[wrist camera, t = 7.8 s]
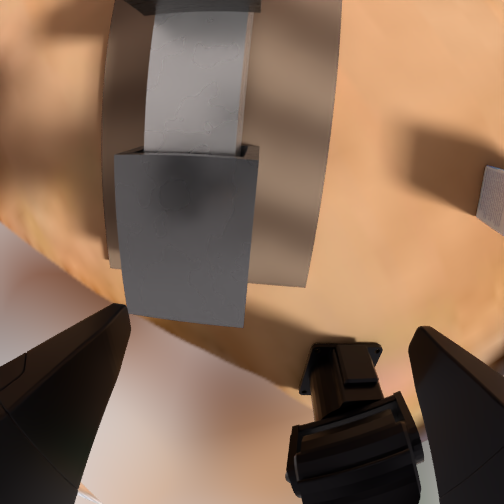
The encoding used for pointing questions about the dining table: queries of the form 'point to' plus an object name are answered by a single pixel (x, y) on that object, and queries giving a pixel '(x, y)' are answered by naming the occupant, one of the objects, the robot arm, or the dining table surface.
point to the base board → (247, 124)
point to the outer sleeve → (186, 233)
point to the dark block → (197, 74)
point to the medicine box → (492, 199)
